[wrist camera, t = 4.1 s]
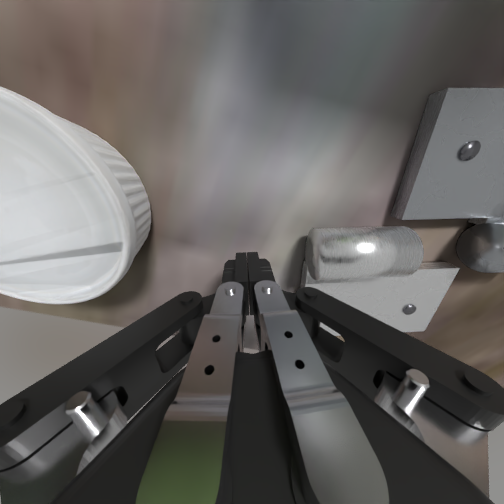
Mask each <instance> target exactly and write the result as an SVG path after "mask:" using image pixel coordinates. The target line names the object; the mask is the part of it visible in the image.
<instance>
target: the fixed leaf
mask: <svg viewBox="0 0 504 504" xmlns="http://www.w3.org/2000/svg"><path fill="white" fill-rule="evenodd" d="M391 216H392V217H395V218H398V219H401V220H417V219H456V218H469V219H468V221H467V222H469V223H473V224H477V225H475V226H473V227H471V228H469V229H467V230H466V231H465V232H463V233H462V235H461V236H460V237H459V239H458V241H457V245H456V251H457V255H458V257H459V259H460V260H461V261H462V262H463V263H464V264H465V265H466V266H467V267H469V268H471V269H473V270H476V271H479V272H485V273H496V272H504V88H447V89H444V90H441V91H439V92H436V93H433V94H431V95H429V98H428V102H427V105H426V108H425V111H424V114H423V117H422V120H421V123H420V126H419V129H418V133H417V136H416V139H415V142H414V145H413V148H412V151H411V154H410V157H409V160H408V163H407V167H406V170H405V173H404V176H403V179H402V182H401V185H400V188H399V191H398V194H397V197H396V201H395V204H394V207H393V210H392V213H391Z"/></svg>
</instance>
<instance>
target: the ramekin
mask: <svg viewBox="0 0 504 504" xmlns="http://www.w3.org/2000/svg"><path fill="white" fill-rule="evenodd" d="M150 225H151V210H150V203H149V200H148V195H147V193H146V191H145V188H144V186H143V184H142V182H141V179H140V178H139V176H138V175H137V173H136V172H135V170H134V168H133V167H132V166H131V165H130V164H129V163H128V161H127V160H126V159H125V158H124V157H123V156H122V155H121V154H120V153H119V152H118V151H117V150H116V149H115V148H113V147H112V146H111V145H110V144H109V143H108V142H106V141H105V140H103V139H101V138H100V137H99V136H98V135H96V134H94V133H92V132H90V131H88V130H87V129H85V128H83V127H81V126H79V125H76V124H74V123H72V122H70V121H68V120H65V119H63V118H61V117H59V116H57V115H54V114H53V113H51V112H50V111H48V110H47V109H45V108H43V107H42V106H40V105H38V104H37V103H35V102H33V101H31V100H29V99H28V98H25V97H23V96H21V95H19V94H17V93H15V92H13V91H10V90H8V89H6V88H3V87H0V293H1V294H4V295H7V296H11V297H14V298H18V299H22V300H27V301H32V302H37V303H46V304H73V303H79V302H84V301H88V300H91V299H94V298H97V297H99V296H101V295H103V294H104V293H106V292H107V291H109V290H110V289H112V288H113V287H114V286H115V285H116V284H117V283H118V282H119V281H120V280H121V279H122V278H123V277H124V276H125V274H126V273H127V271H128V270H129V268H130V266H131V264H132V262H133V259H134V257H135V256H136V254H137V253H138V251H139V250H140V248H141V247H142V245H143V244H144V242H145V240H146V239H147V237H148V233H149V231H150Z"/></svg>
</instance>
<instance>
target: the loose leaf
mask: <svg viewBox="0 0 504 504" xmlns="http://www.w3.org/2000/svg"><path fill="white" fill-rule="evenodd" d="M423 254H424V250H423V244H422V241H421V239H420V237H419V236H418V234H417V233H416V232H415V231H414V230H412V229H411V228H409V227H406V226H382V227H345V228H313V229H311V230H310V232H309V234H308V236H307V240H306V246H305V258H306V260H304V261H303V269H302V277H301V285H300V288H302V287H313V288H316V289H318V290H320V291H322V292H324V293H326V294H328V295H330V296H332V297H334V298H336V299H338V300H340V301H342V302H344V303H346V304H348V305H350V306H352V307H354V308H356V309H358V310H360V311H362V312H364V313H366V314H368V315H370V316H372V317H374V318H376V319H378V320H380V321H382V322H384V323H386V324H388V325H390V326H392V327H394V328H396V329H398V330H400V331H401V332H418V331H425V329H426V328H427V326H428V324H429V322H430V320H431V319H432V317H433V315H434V313H435V312H436V310H437V308H438V306H439V304H440V303H441V301H442V299H443V297H444V296H445V294H446V292H447V290H448V288H449V287H450V285H451V283H452V281H453V280H454V278H455V276H456V274H457V272H458V271H459V269H460V268H459V267H457V266H455V265H452V264H450V263H448V262H424V263H422V260H423ZM320 327H322V328H323V329H325V330H326V331H328V332H329V333H331V334H332V335H334V336H340V334H339V333H337V332H335V331H334V330H332V329H331V328H329V327H328V326H326V325H324V324H323V323H320Z"/></svg>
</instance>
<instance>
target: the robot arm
mask: <svg viewBox="0 0 504 504" xmlns="http://www.w3.org/2000/svg"><path fill="white" fill-rule="evenodd" d="M248 290H249V293H248ZM249 305H250V315H254V328H255V333H256V339H257V344H258V350H259V353H256V354H249V353H244V352H243V349H244V334H245V322H246V315H249ZM320 323H323V324H324V325H326V326H328V327H329V328H331V329H332V330H334V331H335V332H337V333H339V334H340V335H341V336H342V337H343V338H344V340H345V342H343V341H342V340H340V339H339V338H337V337H335V336H334V335H332V334H331V333H329V332H328V331H326V330H325V329H323V328H322V327H320ZM178 330H179V333H178V334H177V335H176V336H175V337H173V338H172V339H171V340H169V341H168V342H167V343H166V344H164V345H163V346H162V347H161V348H159V349H158V350H157V351H156V349H157V348H158V346H159V345H160V344H161V343H162V342H163V341H165V340H166V339H167V338H169V337H170V336H171V335H172V334H174V333H175V332H176V331H178ZM187 363H188V364H187ZM185 364H187V366H186V367H185V368H184V369H182V370H181V371H180V372H179V373H177V372H178V371H179V370H180V369H181V368H182V367H183V366H185ZM176 373H177V374H176ZM175 374H176V375H175ZM174 375H175V376H174ZM173 376H174V377H173ZM172 377H173V378H172ZM171 378H172V379H171ZM170 379H171V380H170ZM169 380H170V381H169ZM168 381H169V382H168ZM167 382H168V383H167ZM166 383H167V384H166ZM165 384H166V385H165ZM164 385H165V386H164ZM163 386H164V387H163ZM162 387H163V388H162ZM161 388H162V389H161ZM160 389H161V390H160ZM159 390H160V391H159ZM158 391H159V392H158ZM157 392H158V393H157ZM156 393H157V394H156ZM154 394H156V395H155V396H154ZM153 396H154V397H153ZM152 397H153V398H152ZM151 398H152V399H151ZM150 399H151V400H150ZM149 400H150V401H149ZM147 401H149V402H148V403H147V404H146V405H145V406H144V407H143V409H141V410H140V411H139V413H138V414H137V415H136V416H135V417H134V418H133V419H132V420H131V421H130V422H129V423H128V424H127V421H128V420H129V419H130V418H131V417H132V416H133V415H134V414H135V413H136V412H137V411H138V410H139V409H140V408H141V407H142V406H143V405H144V404H145V403H146V402H147ZM503 421H504V388H502V387H501V386H500V385H499V384H498V383H497V382H495V381H494V380H493V379H492V378H490V377H489V376H487V375H486V374H484V373H482V372H480V371H479V370H477V369H475V368H473V367H471V366H469V365H467V364H465V363H463V362H461V361H459V360H457V359H455V358H453V357H451V356H449V355H447V354H445V353H443V352H441V351H439V350H437V349H435V348H433V347H431V346H429V345H427V344H425V343H423V342H421V341H419V340H417V339H415V338H413V337H411V336H409V335H407V334H405V333H403V332H401V331H400V330H398V329H396V328H394V327H392V326H390V325H388V324H386V323H384V322H382V321H380V320H378V319H376V318H374V317H372V316H370V315H368V314H366V313H364V312H362V311H360V310H358V309H356V308H354V307H352V306H350V305H348V304H346V303H344V302H342V301H340V300H338V299H336V298H334V297H332V296H330V295H328V294H326V293H324V292H322V291H320V290H318V289H316V288H313V287H302V288H300V289H298V290H297V292H296V293H290V292H286V291H283V290H281V288H280V286H279V285H278V284H277V283H276V282H275V279H274V276H273V272H272V269H271V266H270V262H269V261H267V260H266V259H259V257H258V252H247V256H246V253H236V260H228V261H227V262H226V263H225V266H224V273H223V278H222V284H221V285H220V286H219V287H218V288H217V291H216V293H215V294H213V295H210V296H207V297H203V298H202V296H201V295H200V294H199V293H198V292H193V291H189V292H184V293H182V294H179V295H178V296H176V297H174V298H173V299H171V300H170V301H168V302H166V303H165V304H163V305H161V306H160V307H158V308H157V309H155V310H153V311H152V312H150V313H148V314H147V315H145V316H144V317H142V318H140V319H139V320H137V321H135V322H134V323H132V324H131V325H129V326H127V327H126V328H124V329H122V330H121V331H119V332H118V333H116V334H114V335H113V336H111V337H109V338H108V339H107V340H105V341H103V342H101V343H100V344H98V345H97V346H95V347H93V348H92V349H90V350H89V351H87V352H85V353H83V354H82V355H80V356H79V357H77V358H75V359H74V360H72V361H70V362H69V363H67V364H66V365H64V366H62V367H61V368H59V369H57V370H56V371H54V372H53V373H51V374H49V375H48V376H46V377H44V378H43V379H41V380H39V381H38V382H36V383H35V384H33V385H31V386H30V387H28V388H26V389H25V390H23V391H22V392H20V393H19V394H17V395H15V396H14V397H12V398H10V399H9V400H7V401H5V402H4V403H2V404H1V405H0V495H1V504H494V503H493V502H492V501H491V500H490V499H489V469H488V467H489V466H488V434H489V433H490V432H491V431H493V430H494V429H495V428H496V427H497V426H499V425H500V424H501V423H502V422H503ZM126 424H127V425H126Z"/></svg>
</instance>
